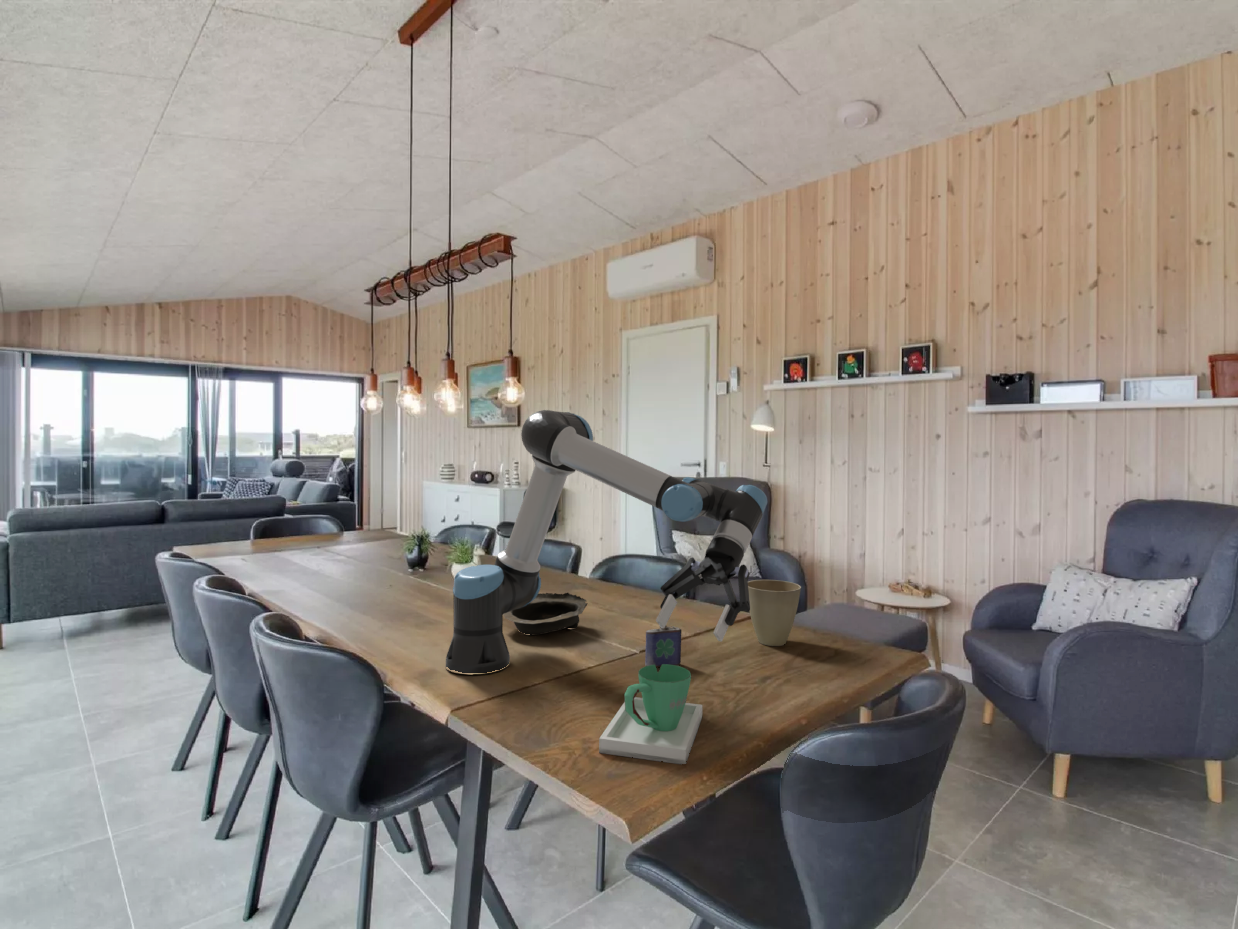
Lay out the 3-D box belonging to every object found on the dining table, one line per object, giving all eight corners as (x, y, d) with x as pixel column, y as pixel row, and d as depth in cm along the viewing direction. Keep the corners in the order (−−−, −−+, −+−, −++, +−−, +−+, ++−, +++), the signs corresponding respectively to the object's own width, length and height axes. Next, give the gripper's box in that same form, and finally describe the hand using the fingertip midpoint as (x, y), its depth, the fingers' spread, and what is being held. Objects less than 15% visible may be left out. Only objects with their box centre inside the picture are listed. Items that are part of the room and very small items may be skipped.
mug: (661, 710, 126) (662, 660, 126) (701, 726, 119) (701, 673, 119) (607, 732, 116) (608, 678, 116) (647, 751, 109) (647, 693, 109)
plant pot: (733, 638, 179) (734, 582, 179) (774, 632, 186) (775, 578, 186) (769, 653, 166) (769, 592, 166) (811, 646, 173) (812, 587, 173)
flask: (647, 669, 153) (647, 624, 153) (643, 665, 156) (643, 621, 156) (682, 666, 156) (683, 622, 156) (677, 662, 159) (678, 619, 159)
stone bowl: (592, 620, 197) (593, 590, 196) (579, 651, 172) (580, 617, 172) (514, 616, 200) (514, 587, 199) (490, 646, 175) (490, 613, 174)
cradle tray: (599, 752, 110) (599, 738, 110) (628, 708, 129) (628, 696, 129) (685, 764, 106) (685, 749, 106) (702, 717, 125) (702, 704, 125)
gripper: (788, 564, 131) (750, 654, 119) (686, 551, 147) (645, 629, 136) (776, 541, 126) (736, 632, 115) (673, 530, 143) (630, 609, 131)
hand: (687, 630), depth 125 cm, fingers open, 13 cm apart
